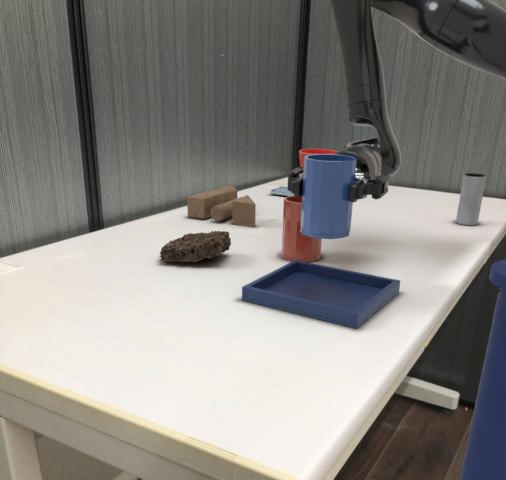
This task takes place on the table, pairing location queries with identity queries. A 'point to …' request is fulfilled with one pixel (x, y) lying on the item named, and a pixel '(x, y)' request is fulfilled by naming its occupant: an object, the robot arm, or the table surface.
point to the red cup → (297, 234)
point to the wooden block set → (222, 206)
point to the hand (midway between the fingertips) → (324, 191)
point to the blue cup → (327, 195)
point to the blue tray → (322, 292)
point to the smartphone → (282, 191)
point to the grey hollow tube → (470, 198)
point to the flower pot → (312, 153)
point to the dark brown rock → (196, 247)
